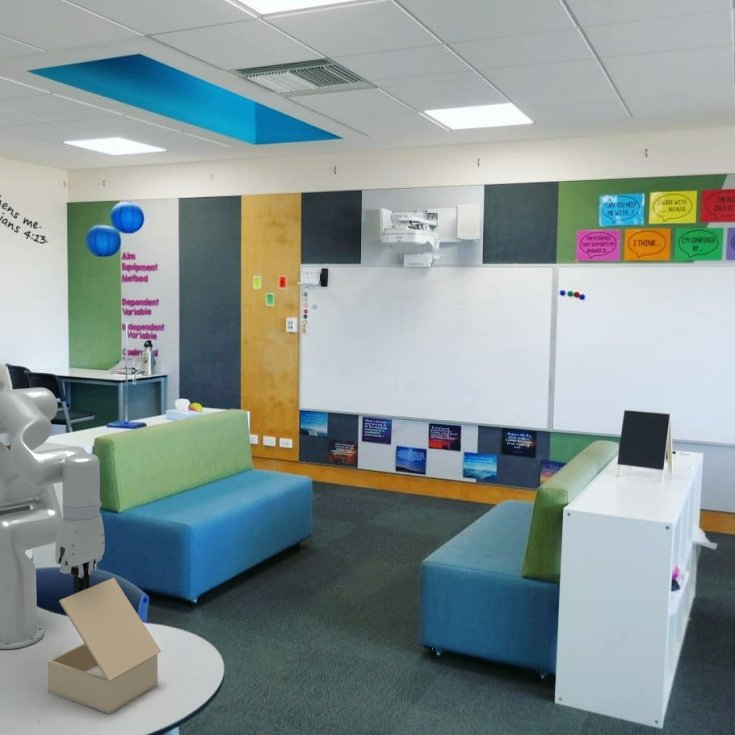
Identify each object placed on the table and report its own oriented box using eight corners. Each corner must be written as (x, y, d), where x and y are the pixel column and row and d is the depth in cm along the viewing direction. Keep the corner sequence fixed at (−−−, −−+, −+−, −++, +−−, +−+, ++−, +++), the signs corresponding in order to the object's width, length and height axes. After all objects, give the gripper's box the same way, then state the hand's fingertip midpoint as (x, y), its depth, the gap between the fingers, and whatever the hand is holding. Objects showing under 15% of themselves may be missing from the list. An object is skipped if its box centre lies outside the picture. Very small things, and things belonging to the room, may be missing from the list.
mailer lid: (58, 601, 164) (60, 600, 164) (112, 578, 177) (113, 577, 177) (108, 681, 159) (109, 680, 159) (160, 652, 172) (161, 651, 172)
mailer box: (48, 692, 168) (47, 661, 168) (98, 665, 181) (98, 636, 180) (109, 714, 160) (109, 681, 159) (157, 684, 172) (157, 654, 172)
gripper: (95, 500, 177) (95, 578, 179) (40, 516, 164) (41, 600, 166) (119, 505, 174) (119, 585, 176) (65, 523, 161) (66, 608, 163)
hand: (81, 592), depth 171 cm, fingers closed
